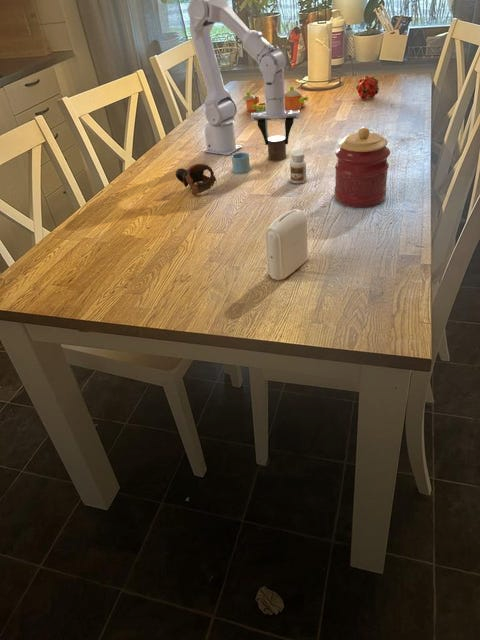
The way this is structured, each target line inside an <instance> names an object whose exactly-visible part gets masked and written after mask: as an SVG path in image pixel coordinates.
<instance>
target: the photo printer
mask: <svg viewBox="0 0 480 640" xmlns="http://www.w3.org/2000/svg"><path fill="white" fill-rule="evenodd" d="M265 242H266V243H265V244H266V257H267V272H268V275H270V278H271V279H273V280H275V281H276V280H277V281H282V280H284V279H287V277H289V276H290V275H292V274H293V273H294V272H295V271H296V270H298V269H299V268H300V267H301V266H302V265H303V264H305V262H306V261H307V260H308V255H309V253H308V251H309V250H308V249H309V248H308V217H307V215H306V212H304V210H301V209H298V208H296V209H295V208H294V209H290V210H287V211H286V212H283V213H282V214H280V215H279V216H278V217H276V219H275V220H273V222H272V223H271V224H270V225H269V226H268V227H267V229H266V231H265Z"/></svg>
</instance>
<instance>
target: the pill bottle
mask: <svg viewBox="0 0 480 640" xmlns="http://www.w3.org/2000/svg"><path fill="white" fill-rule="evenodd" d="M289 169H290V171H289V172H290V173H289V175H290V182H291V183H293V184H302V183H305V182H307V162H306V160H305V152H304V151H293V152H292V153H291V161H290V163H289Z"/></svg>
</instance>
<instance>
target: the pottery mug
mask: <svg viewBox="0 0 480 640" xmlns="http://www.w3.org/2000/svg"><path fill="white" fill-rule="evenodd" d="M205 171H208V172H209V174H210V176H208V175H206V174H204V173H205ZM175 177H176V179H177V180H178V181H179V182H180V183H182V184H183V185H184V188H187V187H188V186H189V187H191V191H190V193H191V195H192V196H195V197H198V195H199V194H201V193H204V192H206V191H209V190H210V189H211V188H212V187H213V186H214V185H215V183H216V182H217V177H216V176H215V172H214V171H213V169H212V167H211V166H209V165H208V164H204V163H195V164H193V165H191V166H190V167H189V168H188V169H186V168H178V169H177V170H176V171H175Z"/></svg>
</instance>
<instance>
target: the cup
mask: <svg viewBox="0 0 480 640" xmlns="http://www.w3.org/2000/svg"><path fill="white" fill-rule="evenodd" d="M250 162H251V161H250V154H249V153H247V152H236V153H233V154H231V164H232V171H233V173H235V174H245V173H246V174H247V173H248V172H250V170H251V164H250Z"/></svg>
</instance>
